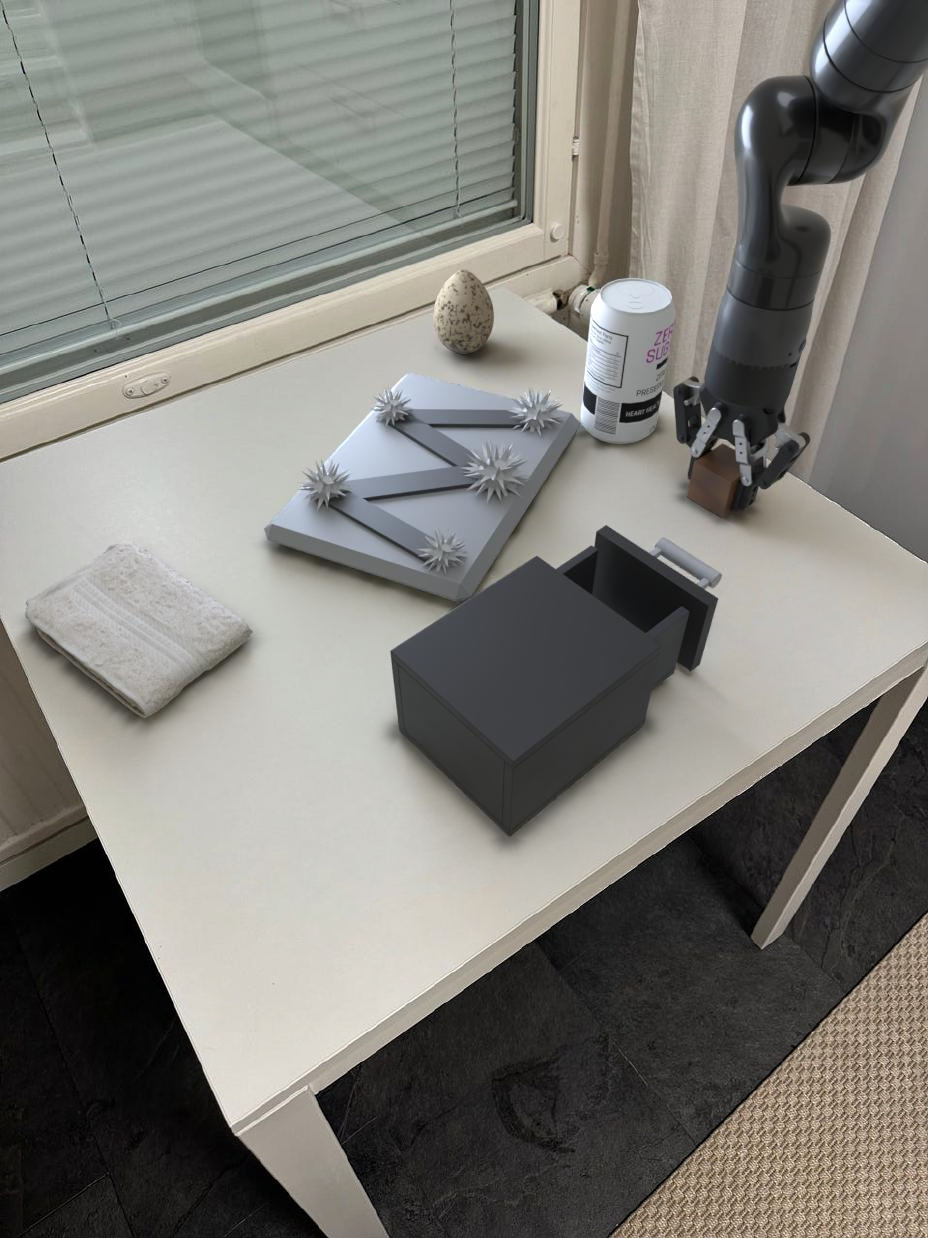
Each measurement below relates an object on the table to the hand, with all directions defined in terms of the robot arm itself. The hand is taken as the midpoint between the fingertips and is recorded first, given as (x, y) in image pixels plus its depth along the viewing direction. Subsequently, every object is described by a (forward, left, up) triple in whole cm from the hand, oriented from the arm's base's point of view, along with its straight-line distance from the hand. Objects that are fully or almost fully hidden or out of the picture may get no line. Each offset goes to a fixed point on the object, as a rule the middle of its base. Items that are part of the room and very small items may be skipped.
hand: (718, 495), depth 88 cm
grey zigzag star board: (+21, +20, 0) cm, 29 cm away
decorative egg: (+38, 0, 0) cm, 38 cm away
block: (0, 0, 0) cm, 0 cm away
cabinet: (-7, +34, 0) cm, 35 cm away
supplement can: (+15, -2, 0) cm, 15 cm away
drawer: (-7, +24, +1) cm, 25 cm away
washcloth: (+23, +51, 0) cm, 56 cm away
